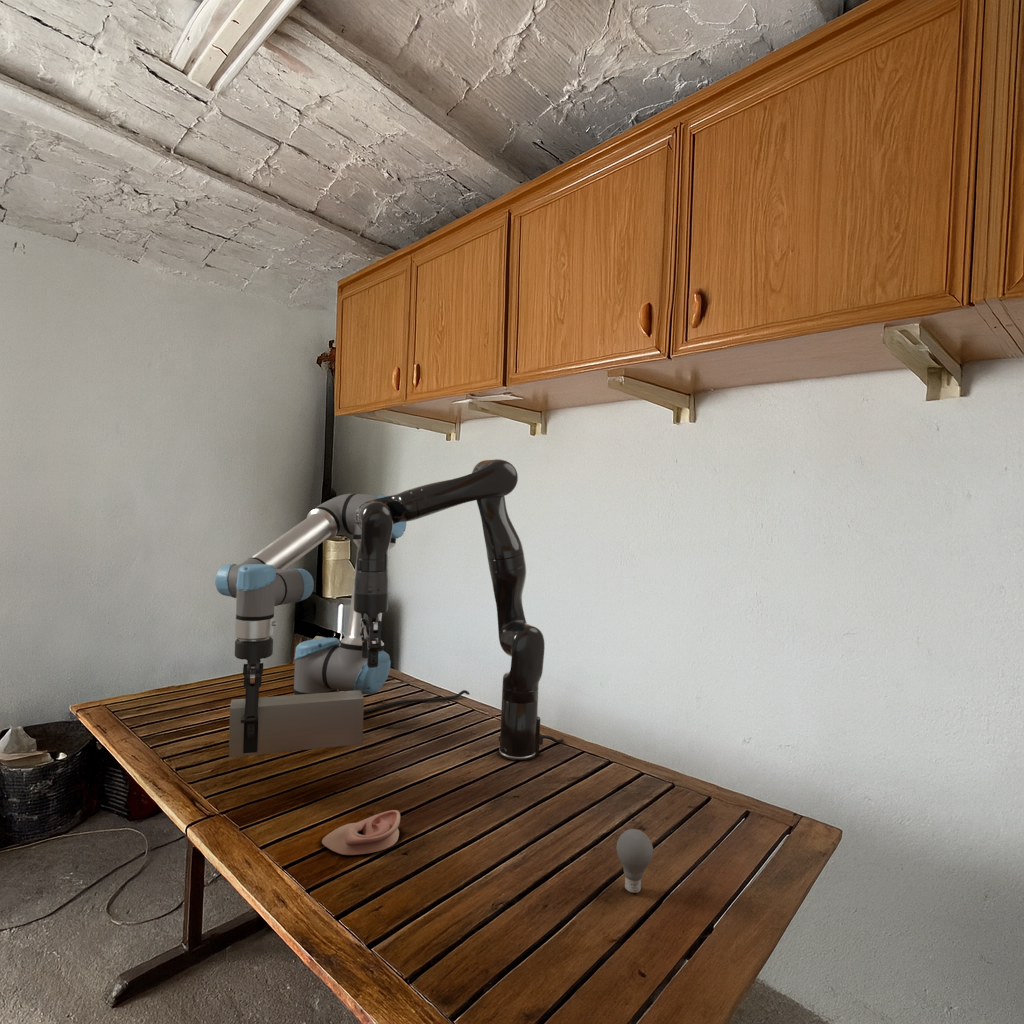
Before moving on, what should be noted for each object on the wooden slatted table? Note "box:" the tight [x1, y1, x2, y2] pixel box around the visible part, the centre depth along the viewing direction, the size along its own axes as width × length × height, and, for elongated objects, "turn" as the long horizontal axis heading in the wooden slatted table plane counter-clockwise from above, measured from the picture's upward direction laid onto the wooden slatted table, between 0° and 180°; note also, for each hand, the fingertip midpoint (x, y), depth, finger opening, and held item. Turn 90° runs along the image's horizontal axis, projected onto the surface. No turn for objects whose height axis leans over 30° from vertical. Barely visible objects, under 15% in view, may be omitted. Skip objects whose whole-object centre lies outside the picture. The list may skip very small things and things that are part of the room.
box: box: [228, 690, 365, 759], centre depth 138 cm, size 27×6×10 cm, turn 111°
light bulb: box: [615, 828, 654, 894], centre depth 106 cm, size 6×6×10 cm
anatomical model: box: [321, 809, 401, 856], centre depth 118 cm, size 13×4×12 cm
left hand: (250, 745), depth 135 cm, fingers closed on box, 6 cm apart
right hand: (369, 662), depth 142 cm, fingers open, 8 cm apart
